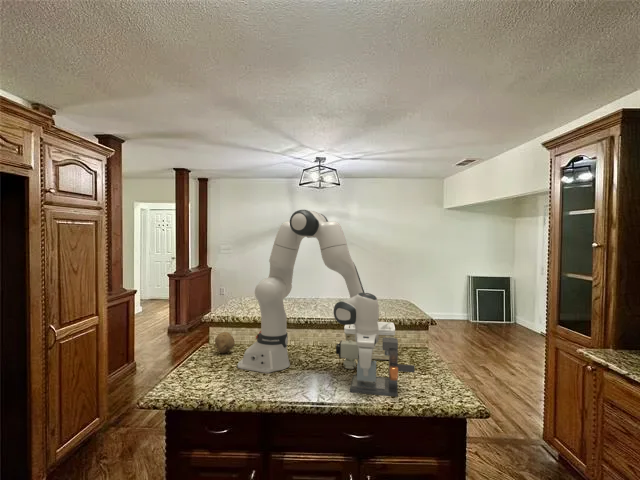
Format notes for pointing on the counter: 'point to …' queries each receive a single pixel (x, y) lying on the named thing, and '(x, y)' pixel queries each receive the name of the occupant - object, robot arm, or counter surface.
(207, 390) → the counter surface
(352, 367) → the pneumatic valve
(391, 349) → the press
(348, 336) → the storage basket
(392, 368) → the lever
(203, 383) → the counter surface
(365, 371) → the robot arm
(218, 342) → the natural sponge
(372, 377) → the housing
